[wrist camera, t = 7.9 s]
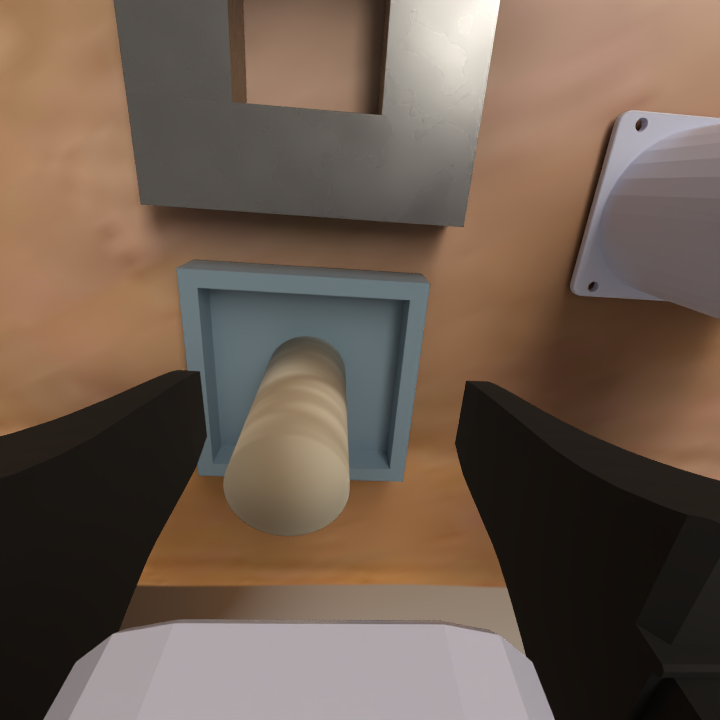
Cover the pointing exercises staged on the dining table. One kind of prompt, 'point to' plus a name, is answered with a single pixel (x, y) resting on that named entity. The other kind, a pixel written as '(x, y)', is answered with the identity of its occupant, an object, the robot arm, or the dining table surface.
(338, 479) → the birch peg
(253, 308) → the slate tray
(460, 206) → the hitch block
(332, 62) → the dining table surface
